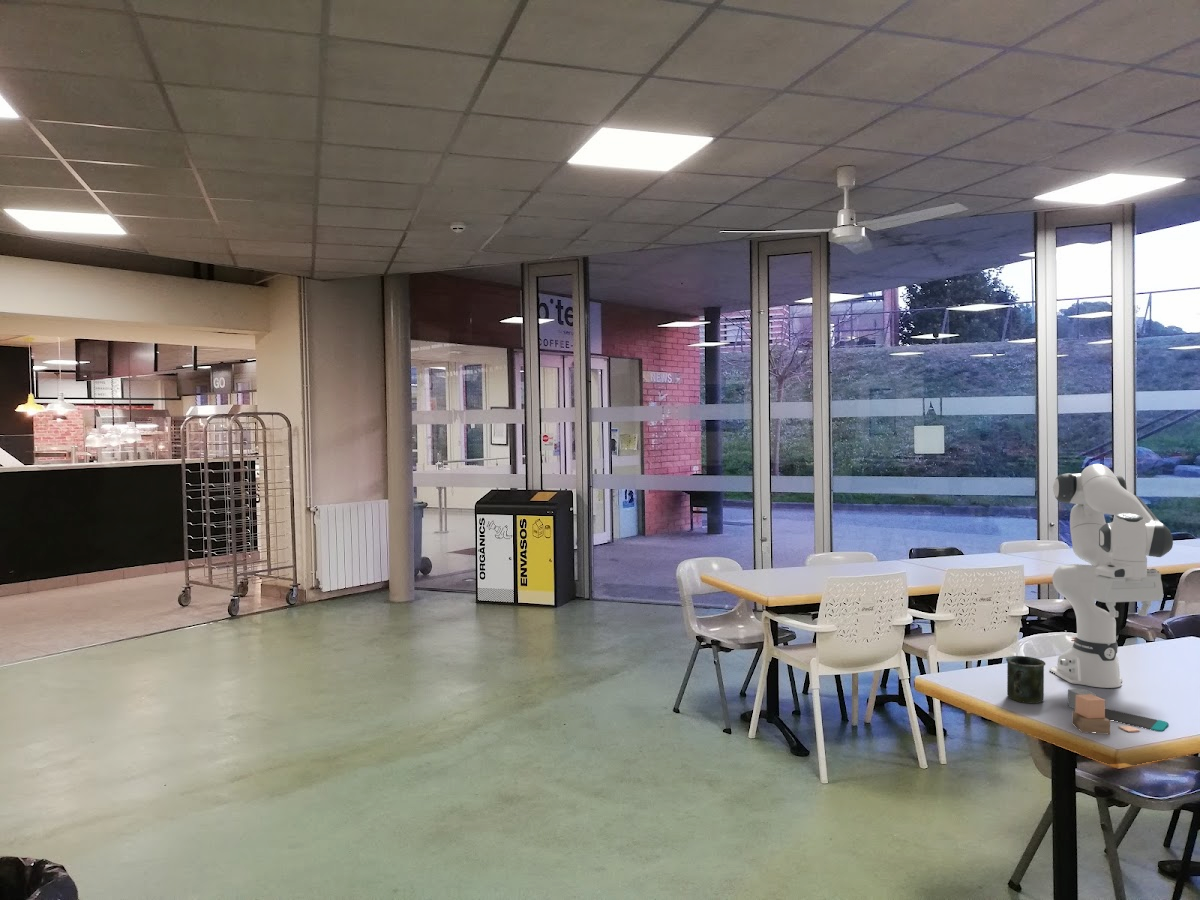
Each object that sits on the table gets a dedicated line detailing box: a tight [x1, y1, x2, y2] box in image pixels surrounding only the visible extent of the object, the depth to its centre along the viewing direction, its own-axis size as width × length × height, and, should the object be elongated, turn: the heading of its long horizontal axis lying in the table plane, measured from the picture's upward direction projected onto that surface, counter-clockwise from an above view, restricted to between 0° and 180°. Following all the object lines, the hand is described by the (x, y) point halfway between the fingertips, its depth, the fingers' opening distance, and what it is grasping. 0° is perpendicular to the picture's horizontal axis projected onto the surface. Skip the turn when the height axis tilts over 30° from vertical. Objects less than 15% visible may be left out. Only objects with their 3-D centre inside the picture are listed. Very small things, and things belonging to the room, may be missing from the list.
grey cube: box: [1067, 688, 1096, 709], centre depth 241 cm, size 5×5×5 cm
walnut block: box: [1071, 710, 1111, 735], centre depth 224 cm, size 7×7×4 cm
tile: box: [1117, 725, 1141, 733], centre depth 223 cm, size 4×4×1 cm
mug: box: [1005, 655, 1046, 704], centre depth 249 cm, size 11×15×12 cm
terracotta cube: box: [1074, 694, 1106, 718], centre depth 225 cm, size 5×5×5 cm
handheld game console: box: [1105, 708, 1169, 732], centre depth 232 cm, size 19×1×10 cm
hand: (1128, 616), depth 235 cm, fingers open, 8 cm apart
